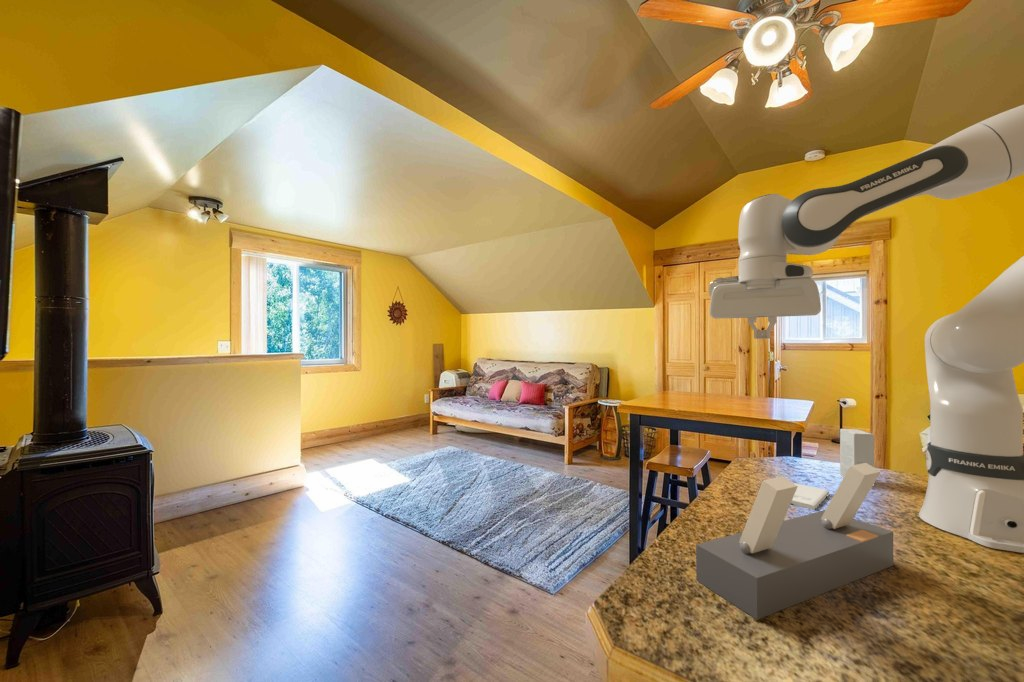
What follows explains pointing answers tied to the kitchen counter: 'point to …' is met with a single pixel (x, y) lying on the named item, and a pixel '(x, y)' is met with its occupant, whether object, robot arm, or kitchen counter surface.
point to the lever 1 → (767, 514)
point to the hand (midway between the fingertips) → (762, 338)
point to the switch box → (793, 563)
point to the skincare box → (855, 449)
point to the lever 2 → (849, 495)
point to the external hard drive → (808, 496)
